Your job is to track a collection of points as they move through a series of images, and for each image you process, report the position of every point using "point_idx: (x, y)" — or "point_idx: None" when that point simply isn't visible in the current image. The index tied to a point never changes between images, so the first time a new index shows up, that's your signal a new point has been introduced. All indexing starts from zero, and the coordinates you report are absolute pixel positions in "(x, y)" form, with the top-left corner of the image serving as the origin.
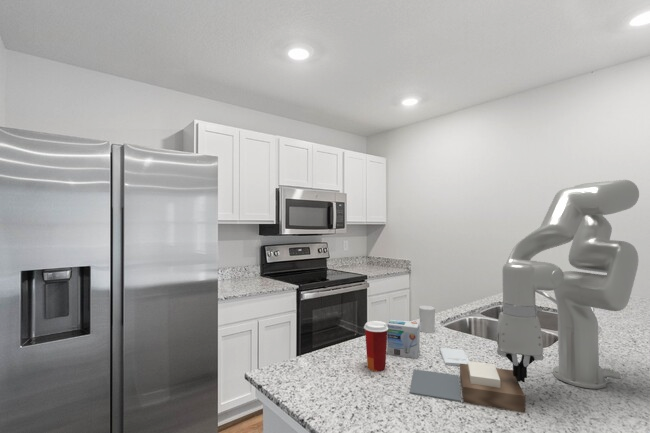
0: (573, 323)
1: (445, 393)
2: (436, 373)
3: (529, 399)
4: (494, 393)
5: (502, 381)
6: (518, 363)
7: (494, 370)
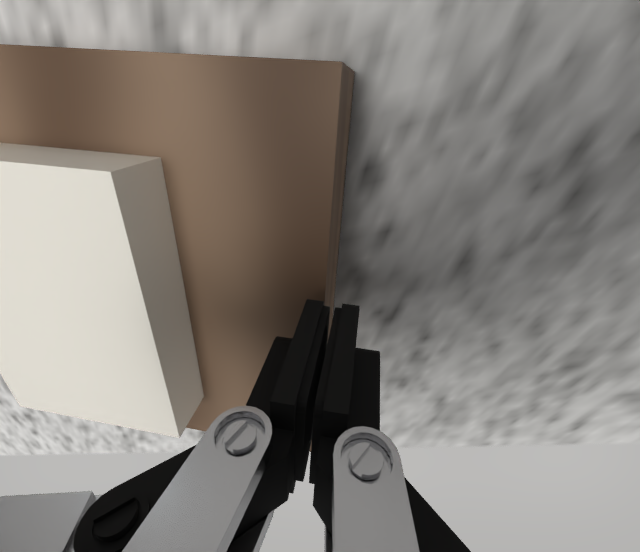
0: None
1: None
2: None
3: (392, 278)
4: None
5: (218, 327)
6: (281, 494)
7: (131, 319)
